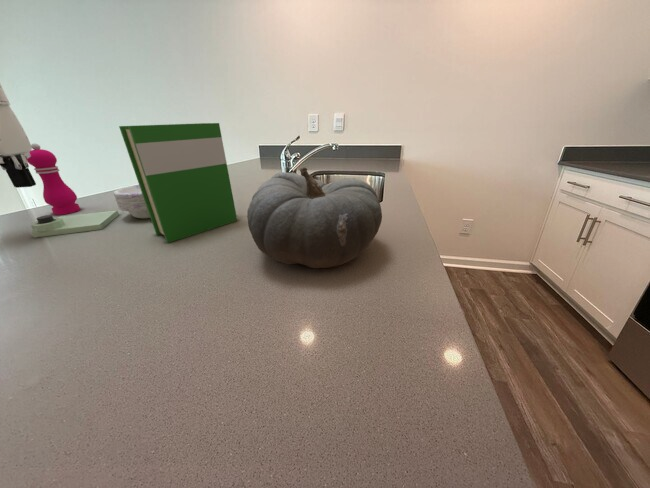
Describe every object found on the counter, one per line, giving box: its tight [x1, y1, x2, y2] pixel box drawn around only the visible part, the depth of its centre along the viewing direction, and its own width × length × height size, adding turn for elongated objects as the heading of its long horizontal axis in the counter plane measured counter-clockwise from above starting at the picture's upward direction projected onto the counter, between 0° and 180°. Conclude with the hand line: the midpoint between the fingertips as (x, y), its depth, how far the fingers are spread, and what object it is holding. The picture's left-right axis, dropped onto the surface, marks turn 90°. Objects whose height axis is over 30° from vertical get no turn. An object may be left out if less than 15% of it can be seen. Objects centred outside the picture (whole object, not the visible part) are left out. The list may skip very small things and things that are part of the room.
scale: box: [30, 209, 120, 238], centre depth 69 cm, size 14×12×3 cm
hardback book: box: [118, 122, 238, 244], centre depth 61 cm, size 18×7×24 cm, turn 139°
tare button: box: [36, 214, 55, 224], centre depth 64 cm, size 3×3×2 cm
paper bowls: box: [113, 184, 151, 219], centre depth 75 cm, size 15×15×8 cm
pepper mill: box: [27, 143, 81, 216], centre depth 76 cm, size 7×7×20 cm
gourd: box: [246, 166, 383, 269], centre depth 50 cm, size 25×25×17 cm
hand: (25, 186), depth 60 cm, fingers closed
